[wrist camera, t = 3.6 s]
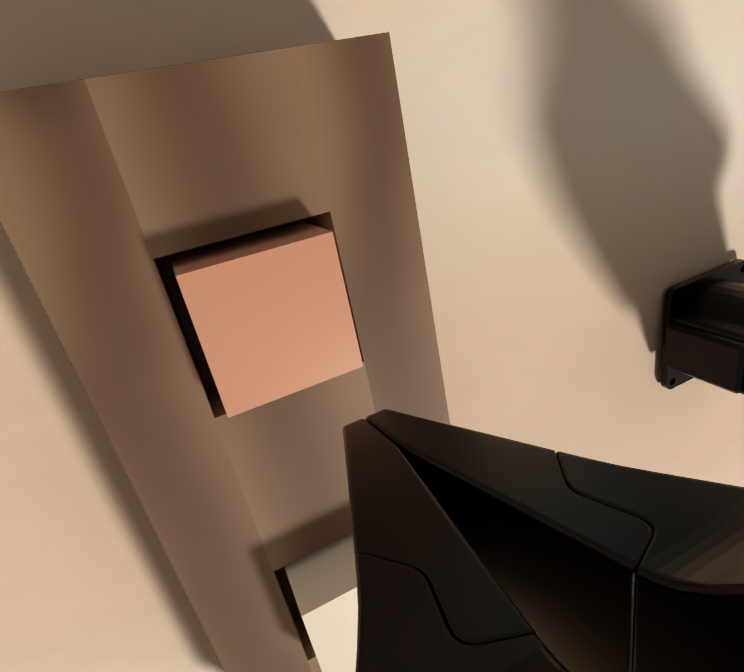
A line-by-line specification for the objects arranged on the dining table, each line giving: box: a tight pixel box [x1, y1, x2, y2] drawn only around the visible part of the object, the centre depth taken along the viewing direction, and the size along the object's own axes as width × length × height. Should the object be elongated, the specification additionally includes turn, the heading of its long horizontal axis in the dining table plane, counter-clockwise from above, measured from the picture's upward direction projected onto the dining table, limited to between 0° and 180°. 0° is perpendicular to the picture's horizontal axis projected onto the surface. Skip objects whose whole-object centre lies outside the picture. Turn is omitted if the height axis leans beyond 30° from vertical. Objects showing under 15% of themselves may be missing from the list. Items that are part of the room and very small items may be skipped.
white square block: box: [284, 533, 358, 672], centre depth 19 cm, size 4×4×3 cm
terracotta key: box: [171, 222, 363, 418], centre depth 15 cm, size 4×4×3 cm
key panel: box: [0, 32, 450, 672], centre depth 19 cm, size 11×26×4 cm, turn 12°
